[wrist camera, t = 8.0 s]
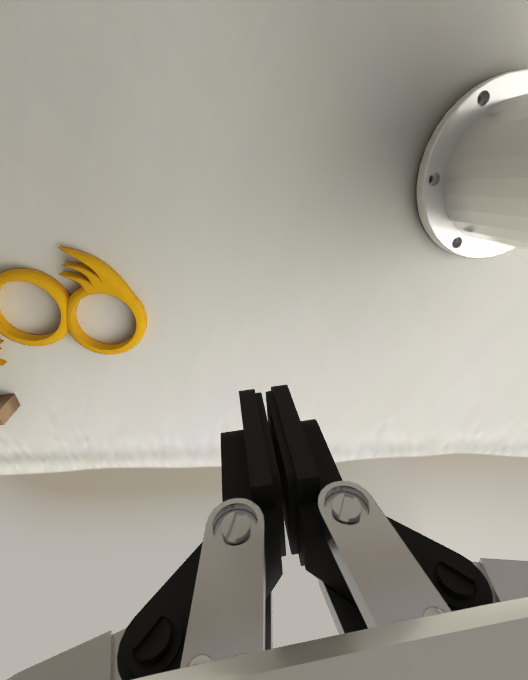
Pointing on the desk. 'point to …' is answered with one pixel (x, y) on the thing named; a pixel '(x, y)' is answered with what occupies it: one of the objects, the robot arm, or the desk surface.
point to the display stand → (7, 407)
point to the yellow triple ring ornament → (76, 302)
